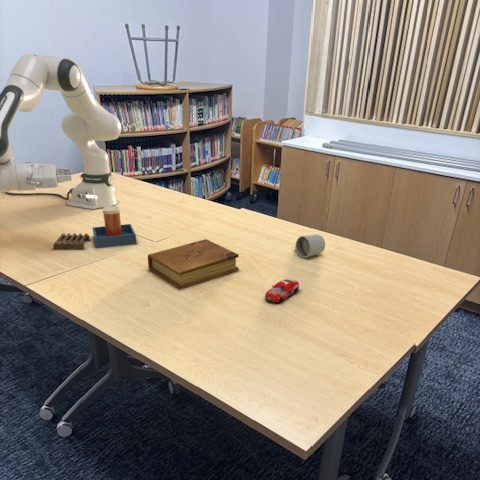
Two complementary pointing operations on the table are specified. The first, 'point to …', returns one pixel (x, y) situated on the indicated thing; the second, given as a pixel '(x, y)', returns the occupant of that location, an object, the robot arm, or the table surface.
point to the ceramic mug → (310, 245)
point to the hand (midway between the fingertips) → (70, 174)
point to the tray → (114, 237)
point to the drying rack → (70, 239)
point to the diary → (192, 263)
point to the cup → (112, 221)
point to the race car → (282, 290)
